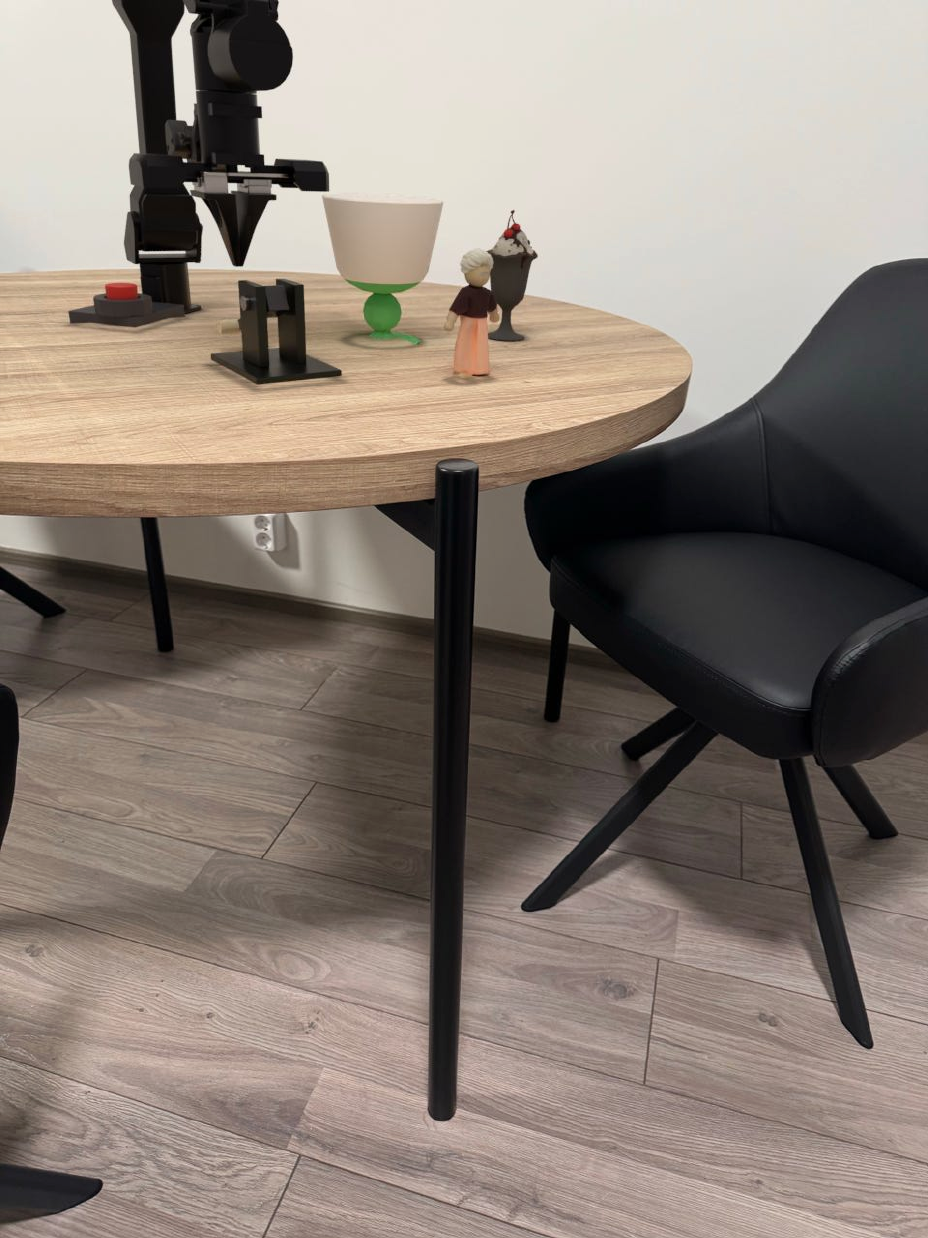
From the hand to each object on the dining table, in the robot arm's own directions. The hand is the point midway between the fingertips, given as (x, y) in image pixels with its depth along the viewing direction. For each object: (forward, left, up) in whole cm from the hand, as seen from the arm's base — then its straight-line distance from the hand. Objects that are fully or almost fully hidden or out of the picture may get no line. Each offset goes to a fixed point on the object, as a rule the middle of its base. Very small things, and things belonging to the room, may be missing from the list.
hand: (237, 266), depth 94 cm
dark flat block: (-12, -22, -9) cm, 27 cm away
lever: (+3, +4, -5) cm, 7 cm away
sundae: (-26, +23, -10) cm, 36 cm away
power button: (-9, -20, -6) cm, 23 cm away
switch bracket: (+5, +6, -9) cm, 12 cm away
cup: (-16, +10, -10) cm, 21 cm away
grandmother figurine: (-2, +25, -10) cm, 27 cm away
